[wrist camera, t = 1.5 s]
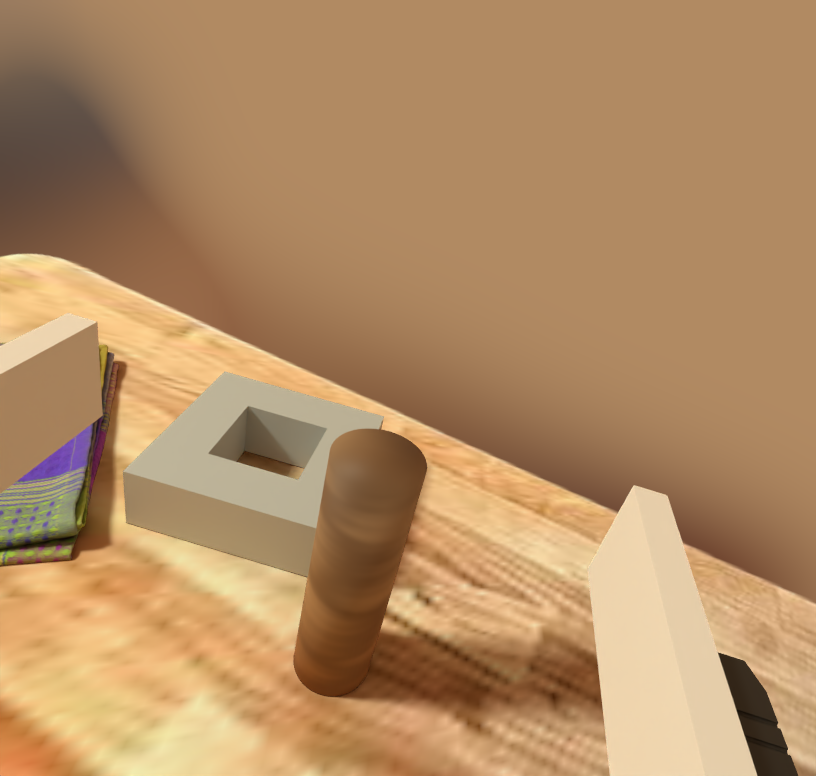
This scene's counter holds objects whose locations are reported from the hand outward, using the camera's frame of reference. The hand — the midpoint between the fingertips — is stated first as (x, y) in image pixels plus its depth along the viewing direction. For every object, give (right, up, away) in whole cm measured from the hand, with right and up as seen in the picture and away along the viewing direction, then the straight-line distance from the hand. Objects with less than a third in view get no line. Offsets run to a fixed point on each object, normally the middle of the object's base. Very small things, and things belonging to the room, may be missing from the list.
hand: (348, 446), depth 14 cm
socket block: (-9, -6, +30) cm, 32 cm away
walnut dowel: (-3, -14, +19) cm, 24 cm away
